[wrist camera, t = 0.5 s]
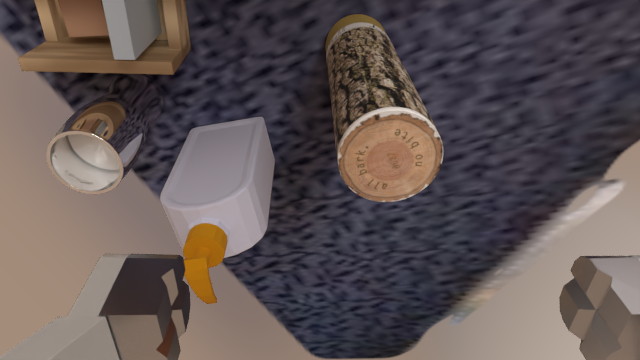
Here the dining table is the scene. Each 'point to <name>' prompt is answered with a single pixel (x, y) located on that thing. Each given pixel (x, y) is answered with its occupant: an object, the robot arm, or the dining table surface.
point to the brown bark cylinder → (378, 115)
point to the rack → (108, 45)
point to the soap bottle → (219, 196)
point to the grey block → (131, 26)
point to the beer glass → (105, 136)
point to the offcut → (84, 17)
